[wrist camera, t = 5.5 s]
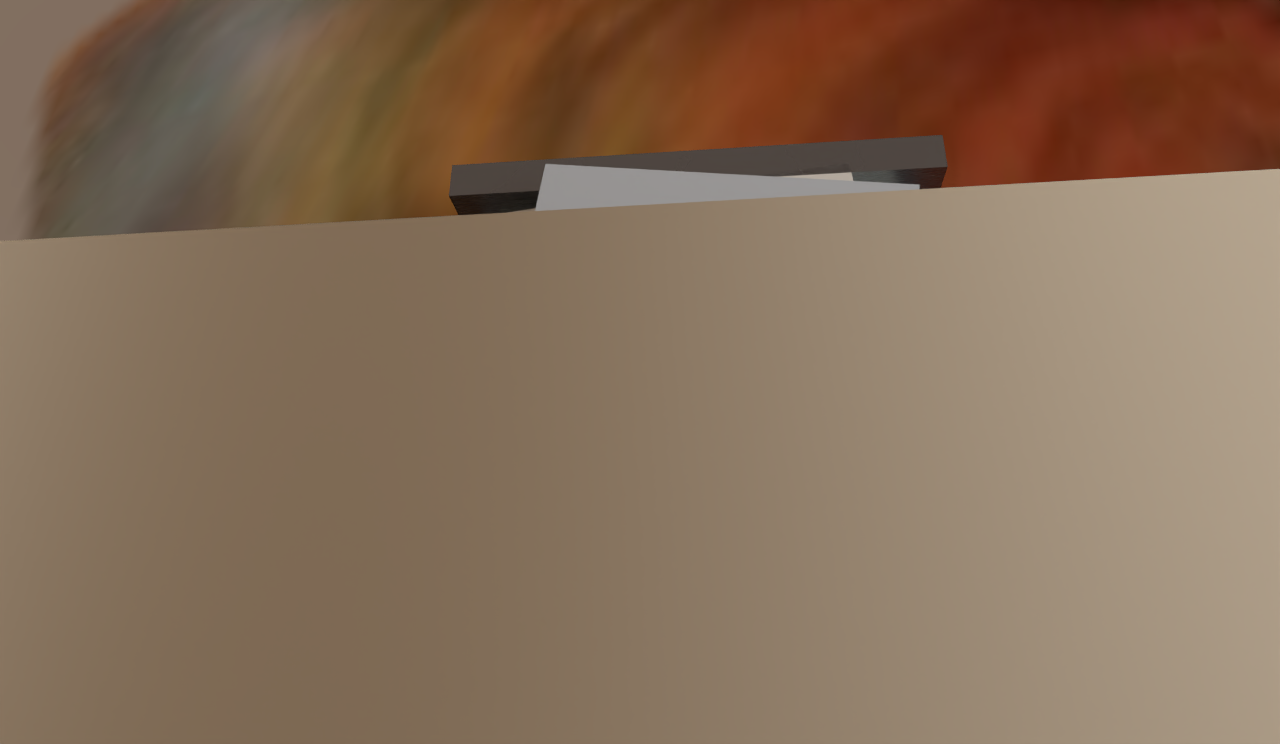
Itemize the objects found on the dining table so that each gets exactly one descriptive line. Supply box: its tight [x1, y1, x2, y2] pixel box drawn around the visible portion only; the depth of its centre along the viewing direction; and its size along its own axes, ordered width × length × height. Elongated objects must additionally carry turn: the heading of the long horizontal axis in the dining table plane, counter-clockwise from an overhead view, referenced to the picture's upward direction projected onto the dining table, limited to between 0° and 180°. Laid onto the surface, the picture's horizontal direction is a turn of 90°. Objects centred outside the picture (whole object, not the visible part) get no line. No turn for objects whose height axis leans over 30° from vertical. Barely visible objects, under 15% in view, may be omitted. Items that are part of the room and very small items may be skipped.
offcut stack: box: [507, 163, 920, 213], centre depth 23 cm, size 11×7×4 cm, turn 90°
